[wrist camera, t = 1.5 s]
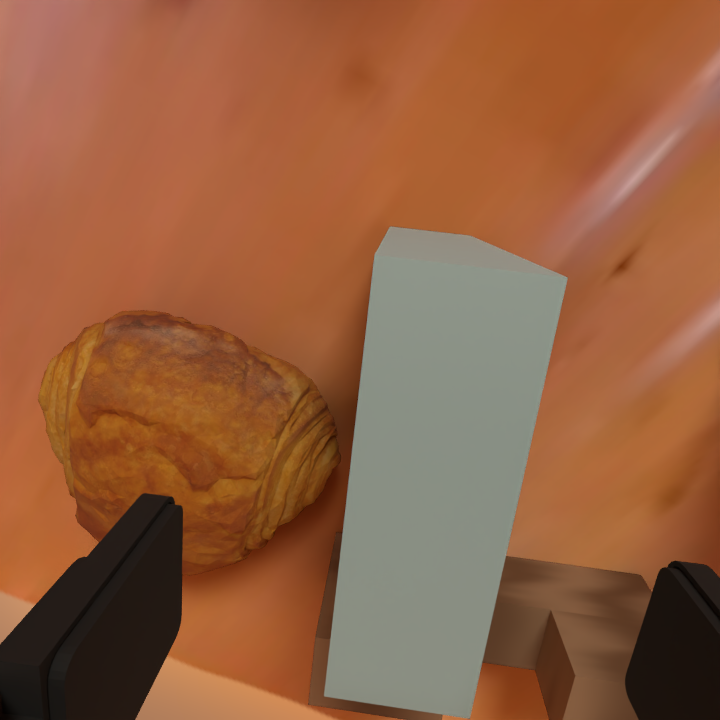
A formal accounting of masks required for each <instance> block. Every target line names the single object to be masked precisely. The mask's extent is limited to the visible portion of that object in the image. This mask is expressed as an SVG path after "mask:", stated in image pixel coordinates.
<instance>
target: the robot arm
mask: <svg viewBox="0 0 720 720" xmlns="http://www.w3.org/2000/svg"><path fill="white" fill-rule="evenodd" d="M182 553H183V508H182V506H181V505H175V501H174V498H173V497H172V496H164V495H156V494H148V493H143V494H142V495H140V496H139V497H138V499H137V500H136V501H135V502H134V503H133V504H132V505H131V507H130V508H129V509H128V510H127V511H126V512H125V514H124V515H123V516H122V517H121V518H120V519H119V520H118V522H117V523H116V524H115V525H114V526H113V527H112V529H111V530H110V531H109V532H108V533H107V534H106V535H105V537H104V538H103V539H102V540H101V541H100V542H99V543H98V545H97V546H96V547H95V548H94V549H93V550H92V552H91V553H90V554H89V555H88V556H87V557H82V558H79V559H77V560H76V561H75V562H74V563H73V564H72V565H71V566H70V567H69V568H68V569H67V570H66V571H65V572H64V574H63V575H62V576H61V577H60V578H59V579H58V580H57V581H56V583H55V584H54V585H53V586H52V587H51V588H50V589H49V590H48V592H47V593H46V594H45V595H44V596H43V597H42V598H41V599H40V600H39V602H38V603H37V604H36V605H35V606H34V607H33V608H32V609H31V611H30V612H29V613H28V614H27V615H26V616H25V617H24V618H23V620H22V621H21V622H20V623H19V624H18V625H17V626H16V627H15V628H14V630H13V631H12V632H11V633H10V634H9V635H8V636H7V637H6V639H5V640H4V641H3V642H2V643H1V644H0V720H135V719H136V717H137V715H138V713H139V711H140V708H141V707H142V705H143V703H144V701H145V699H146V697H147V695H148V693H149V691H150V689H151V687H152V685H153V683H154V681H155V679H156V677H157V675H158V673H159V671H160V669H161V667H162V665H163V663H164V661H165V659H166V657H167V655H168V653H169V651H170V649H171V647H172V645H173V643H174V641H175V639H176V636H177V634H178V631H179V628H180V624H181V616H182ZM625 688H626V693H627V696H628V699H629V701H630V703H631V705H632V707H633V709H634V711H635V713H636V715H637V717H638V719H639V720H720V578H719V577H718V576H717V574H716V573H715V572H714V571H713V570H712V569H711V568H710V567H709V566H707V565H704V564H696V563H688V562H681V561H673V562H671V563H670V564H669V565H668V567H667V568H666V567H664V568H662V569H661V570H660V571H659V573H658V576H657V579H656V582H655V585H654V588H653V591H652V595H651V598H650V601H649V604H648V607H647V610H646V613H645V616H644V619H643V623H642V626H641V629H640V632H639V635H638V638H637V641H636V644H635V647H634V651H633V654H632V657H631V660H630V663H629V666H628V669H627V672H626V676H625Z"/></svg>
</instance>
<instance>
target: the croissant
mask: <svg viewBox="0 0 720 720" xmlns="http://www.w3.org/2000/svg"><path fill="white" fill-rule="evenodd" d="M38 401H39V403H40V406H41V408H42V410H43V413H44V417H45V421H46V432H47V434H48V437H49V439H50V442H51V446H52V450H53V451H54V453H55V455H56V457H57V458H58V460H59V461H60V462H61V463H62V464H63V465H64V472H65V477H66V483H67V485H68V488H69V493H70V495H71V496H72V497H74V498H75V499H76V503H77V511H76V515H75V516H76V519H77V521H78V523H79V524H80V525H81V526H82V527H83V528H85V529H86V530H87V531H88V532H89V533H90V534H91V535H92V536H93V537H94V538H95V539H96V540H98V541H99V542H100V541H101V540H102V539H103V538H104V537H105V535H106V534H107V533H108V532H109V531H110V530H111V529H112V527H113V526H114V525H115V524H116V523H117V522H118V520H119V519H120V518H121V517H122V516H123V515H124V514H125V512H126V511H127V510H128V509H129V508H130V507H131V505H132V504H133V503H134V502H135V501H136V500H137V499H138V497H139V496H140V495H142V494H143V493H148V494H156V495H164V496H172V497H173V498H174V501H175V505H181V506H182V508H183V553H182V575H187V576H191V575H196V574H199V573H203V572H207V571H210V570H214V569H217V568H220V567H224V566H227V565H231V564H234V563H236V562H239V561H241V560H243V559H246V558H247V556H248V555H249V553H250V552H251V550H252V549H261V548H262V547H264V546H265V545H266V544H267V542H268V540H270V539H272V537H273V536H274V533H275V530H276V528H277V526H280V525H283V524H285V523H288V522H290V521H291V520H292V519H293V518H295V517H296V516H298V515H299V513H300V511H302V510H303V509H304V507H305V506H307V505H310V504H312V503H314V502H315V500H316V498H317V497H318V496H319V495H320V494H321V493H322V491H323V489H324V486H325V483H326V481H327V479H328V477H329V476H330V474H331V472H332V470H333V468H334V467H336V466H337V465H338V464H339V463H340V460H341V455H340V454H339V452H338V449H339V446H338V443H337V440H336V436H337V431H336V427H335V422H334V419H333V417H332V415H331V414H330V412H329V410H328V407H327V404H326V402H325V401H324V400H323V398H322V396H321V395H320V393H319V391H318V389H317V387H316V385H315V384H314V382H313V381H312V379H310V378H308V377H307V376H306V375H305V374H304V373H303V372H301V371H300V370H299V369H298V368H297V367H296V366H294V365H292V364H290V363H288V362H286V361H284V360H281V359H278V358H275V357H272V356H269V355H267V354H266V353H264V352H262V351H261V350H259V349H257V348H255V347H251V346H247V345H246V344H245V343H244V342H243V341H242V340H240V339H239V338H237V337H235V336H234V335H232V334H230V333H228V332H225V331H222V330H220V329H218V328H216V327H214V326H211V325H198V324H191V322H189V321H188V320H186V319H184V318H183V317H174V316H172V315H170V314H169V313H163V312H157V311H144V310H140V311H122V312H120V313H118V314H116V315H114V316H113V317H111V318H110V319H108V320H107V321H105V322H104V323H97V324H94V325H92V326H91V327H86V328H84V329H83V330H82V332H81V333H80V335H79V336H78V338H77V339H76V340H75V341H74V342H71V343H69V344H68V345H67V346H66V347H64V349H63V351H62V352H61V353H60V354H58V355H57V356H55V357H54V358H52V360H51V361H50V363H49V364H48V367H47V370H46V371H45V373H44V377H43V380H42V384H41V388H40V392H39V399H38Z"/></svg>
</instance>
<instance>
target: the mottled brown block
mask: <svg viewBox="0 0 720 720" xmlns="http://www.w3.org/2000/svg"><path fill="white" fill-rule="evenodd" d="M342 534H343V533H337V532H336V536H335V541H334V546H333V551H332V556H331V561H330V566H329V571H328V576H327V581H326V586H325V591H324V596H323V601H322V606H321V611H320V616H319V621H318V626H317V631H316V636H315V645H314V655H313V664H312V674H311V684H310V693H309V703H308V705H314V706H321V707H327V708H333V709H340V710H346V711H353V712H359V713H366V714H372V715H379V716H385V717H392V718H398V719H405V720H442V714H436V713H429V712H423V711H416V710H409V709H403V708H396V707H390V706H383V705H377V704H370V703H364V702H357V701H351V700H344V699H338V698H331V697H325V696H324V691H325V683H326V674H327V665H328V656H329V648H330V639H331V630H332V622H333V613H334V604H335V595H336V587H337V578H338V569H339V561H340V552H341V543H342ZM651 595H652V592H651V590H650V589H649V587H648V586H647V584H646V582H645V581H644V579H643V578H642V576H641V575H637V574H630V573H623V572H616V571H608V570H601V569H594V568H587V567H580V566H573V565H566V564H558V563H551V562H544V561H537V560H530V559H523V558H516V557H508V556H506V558H505V562H504V567H503V571H502V576H501V580H500V585H499V589H498V594H497V598H496V603H495V607H494V612H493V616H492V621H491V625H490V630H489V634H488V639H487V643H486V648H485V652H484V657H483V661H482V662H483V663H490V664H497V665H503V666H510V667H517V668H524V669H530V670H535V671H536V675H537V678H538V682H539V685H540V689H541V692H542V696H543V699H544V703H545V706H546V709H547V713H548V716H549V720H639V719H638V717H637V715H636V713H635V711H634V709H633V707H632V705H631V703H630V701H629V699H628V696H627V693H626V688H625V676H626V672H627V669H628V666H629V663H630V660H631V657H632V654H633V651H634V647H635V644H636V641H637V638H638V635H639V632H640V629H641V626H642V623H643V619H644V616H645V613H646V610H647V607H648V604H649V601H650V598H651Z"/></svg>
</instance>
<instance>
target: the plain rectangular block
mask: <svg viewBox="0 0 720 720" xmlns="http://www.w3.org/2000/svg"><path fill="white" fill-rule="evenodd" d="M567 279H568V278H567V277H565V276H563V275H560V274H558V273H556V272H553V271H551V270H549V269H546V268H544V267H542V266H540V265H537V264H535V263H533V262H530V261H528V260H526V259H523V258H521V257H519V256H516V255H514V254H512V253H509V252H507V251H505V250H502V249H500V248H498V247H495V246H493V245H491V244H488V243H486V242H484V241H481V240H479V239H477V238H474V237H472V236H469V235H460V234H451V233H443V232H434V231H425V230H417V229H408V228H399V227H390V228H389V230H388V231H387V233H386V235H385V237H384V239H383V240H382V242H381V244H380V246H379V248H378V250H377V251H376V253H375V256H374V264H373V273H372V282H371V290H370V299H369V308H368V317H367V325H366V334H365V343H364V351H363V360H362V369H361V378H360V386H359V395H358V404H357V412H356V421H355V430H354V439H353V447H352V456H351V465H350V473H349V482H348V491H347V500H346V508H345V517H344V526H343V534H342V543H341V552H340V561H339V569H338V578H337V587H336V595H335V604H334V613H333V622H332V630H331V639H330V648H329V656H328V665H327V674H326V683H325V691H324V696H325V697H331V698H338V699H344V700H351V701H357V702H364V703H370V704H377V705H383V706H390V707H396V708H403V709H409V710H416V711H423V712H429V713H436V714H442V715H449V716H455V717H462V718H468V719H470V715H471V711H472V706H473V702H474V697H475V693H476V688H477V684H478V679H479V675H480V670H481V666H482V661H483V657H484V652H485V648H486V643H487V639H488V634H489V630H490V625H491V621H492V616H493V612H494V607H495V603H496V598H497V594H498V589H499V585H500V580H501V576H502V571H503V567H504V562H505V558H506V553H507V549H508V544H509V540H510V535H511V531H512V526H513V522H514V517H515V513H516V508H517V504H518V499H519V495H520V490H521V486H522V481H523V477H524V472H525V468H526V463H527V459H528V454H529V450H530V445H531V441H532V436H533V432H534V427H535V423H536V418H537V414H538V409H539V405H540V400H541V396H542V391H543V387H544V382H545V378H546V373H547V369H548V364H549V360H550V355H551V351H552V346H553V342H554V337H555V333H556V328H557V324H558V319H559V315H560V310H561V306H562V301H563V297H564V292H565V288H566V283H567Z"/></svg>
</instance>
